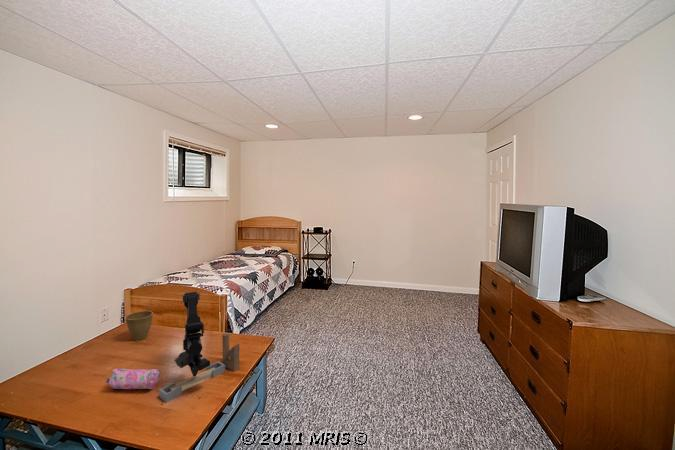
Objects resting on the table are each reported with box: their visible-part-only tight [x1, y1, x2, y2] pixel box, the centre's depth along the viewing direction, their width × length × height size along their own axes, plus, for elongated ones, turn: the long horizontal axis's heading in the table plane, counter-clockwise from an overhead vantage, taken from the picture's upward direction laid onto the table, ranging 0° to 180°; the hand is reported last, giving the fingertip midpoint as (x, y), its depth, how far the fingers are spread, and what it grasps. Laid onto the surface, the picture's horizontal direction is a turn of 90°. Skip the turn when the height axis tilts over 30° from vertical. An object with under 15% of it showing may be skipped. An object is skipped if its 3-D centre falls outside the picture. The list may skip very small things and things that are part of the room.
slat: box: [169, 368, 215, 392], centre depth 141 cm, size 3×22×3 cm, turn 142°
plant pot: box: [125, 310, 154, 342], centre depth 188 cm, size 15×15×16 cm
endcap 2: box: [205, 360, 226, 378], centre depth 151 cm, size 6×7×4 cm
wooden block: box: [220, 332, 240, 372], centre depth 156 cm, size 4×11×18 cm, turn 60°
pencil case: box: [105, 367, 162, 390], centre depth 138 cm, size 21×9×9 cm, turn 88°
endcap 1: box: [158, 381, 183, 403], centre depth 132 cm, size 6×7×4 cm
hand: (194, 376), depth 141 cm, fingers closed
